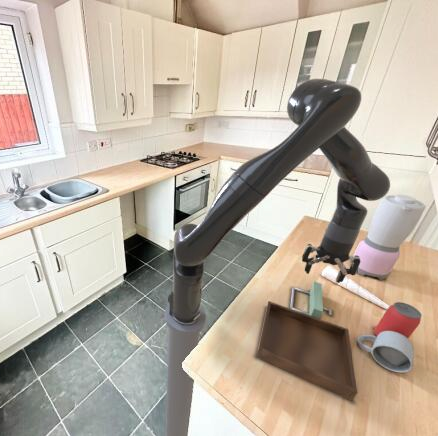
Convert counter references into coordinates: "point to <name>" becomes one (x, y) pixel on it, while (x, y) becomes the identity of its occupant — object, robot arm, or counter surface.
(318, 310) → the hanger
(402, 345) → the ceramic mug
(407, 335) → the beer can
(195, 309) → the robot arm
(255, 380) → the counter surface
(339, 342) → the tray
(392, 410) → the counter surface
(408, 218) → the blender
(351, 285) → the unicorn horn
